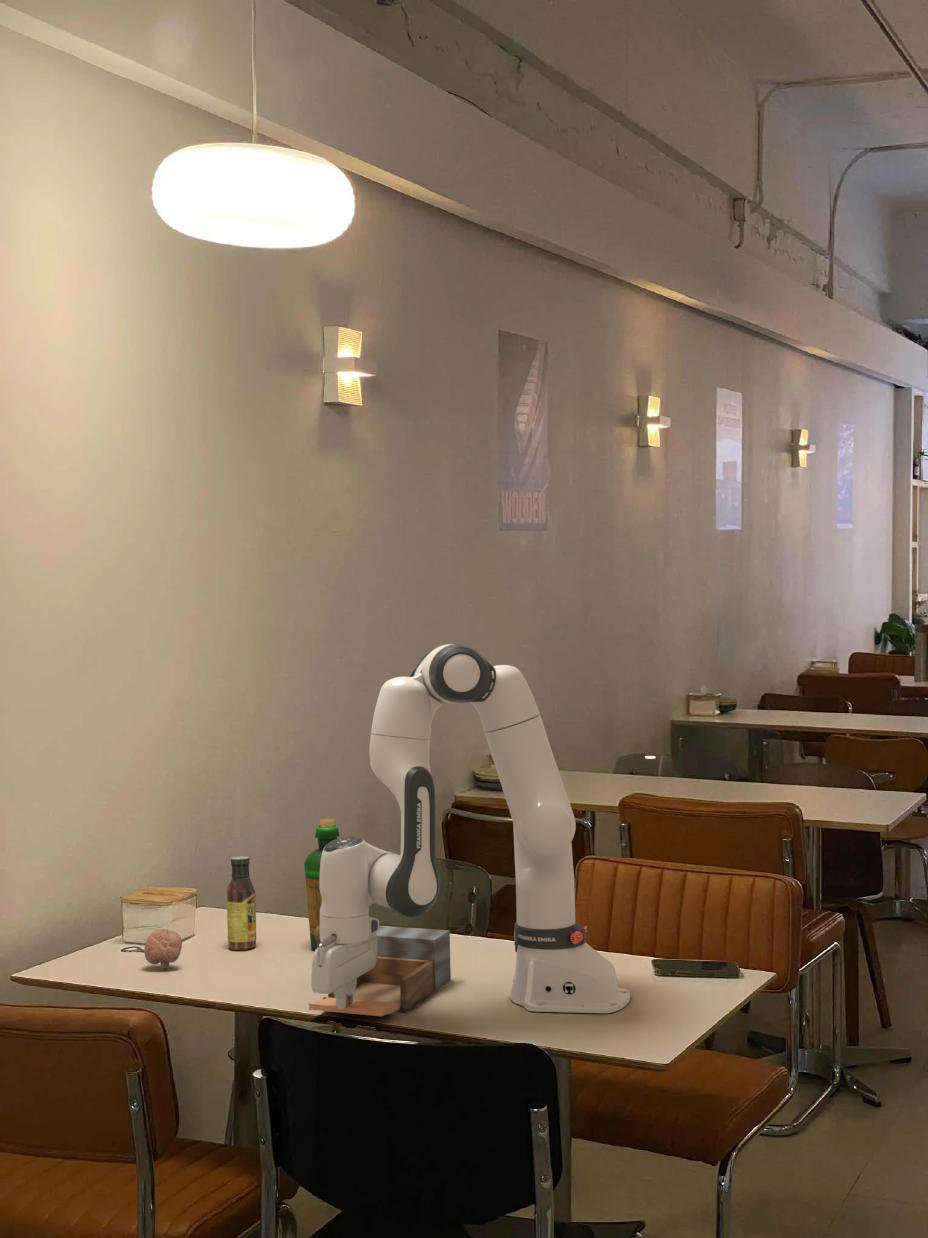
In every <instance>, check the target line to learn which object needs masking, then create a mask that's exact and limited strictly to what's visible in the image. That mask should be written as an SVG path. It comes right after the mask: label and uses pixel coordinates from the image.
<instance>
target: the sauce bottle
mask: <svg viewBox="0 0 928 1238" xmlns="http://www.w3.org/2000/svg"><path fill="white" fill-rule="evenodd" d="M230 864H231V880H230V882H229V883H228V886H227V888H226V889H227V890H226V894H227V897H226V915H227V917H226V919H227V921H226V922H227V941H228V944H227V945H228V948H229V949H230V950H232V951H246V950H250V949H254V948H255V947H256V945H257V908H256V907H257V906H256V905H257V904H256V901H257V900H256V891H255V888H254V886H253V882H252V881H251V880H252V879H251V877H250V876H251V875H250V864H251V863H250V857H249V856H246V855H245V856H244V855H242V856H241V855H240V856H233V857H231V858H230Z"/></svg>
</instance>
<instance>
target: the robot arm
mask: <svg viewBox="0 0 928 1238" xmlns="http://www.w3.org/2000/svg"><path fill="white" fill-rule="evenodd" d="M461 703H462V704H463V703H464V704H465V703H469V704H470V705H471V706H473V708H474V709H475V710H476V712H477V714H478V716H479V718H480V723H481V726H482V728H483V729H482V730H483V732H484V736H485V738H486V742H487V744H488V748H489V751H490V754H491V757H492V760H493V763H494V766H495V770H496V772H497V775H498V778H499V782H500V785H501V788H502V792H503V795H504V798H505V801H506V803H507V806H508V810H509V814H510V817H511V820H512V823H513V824H512V825H513V826H512V827H513V846H514V847H513V848H514V849H513V850H514V870H515V871H514V872H515V874H514V875H515V896H516V897H515V898H516V899H515V902H516V903H515V904H516V922H514V932H513V933H514V934H513V943H514V944H513V945H514V949H515V950H514V951H515V953H516V956H515V957H516V958H515V969H514V974H513V975H514V977H513V981H512V982H513V983H512V987H511V991H510V995H509V999H510V1000H511V1001H512V1002H513V1003H515V1004H517V1005H520V1006H522V1007H523V1008H525V1010H527V1011H529V1012H540V1013H541V1012H545V1013H573V1014H574V1013H578V1014H579V1013H580V1014H582V1013H583V1014H610V1013H615V1012H618V1011H620V1010H622V1009H623V1008H624V1007H626V1006H627V1005H628V1004H629V1002H630V1001H631V993H630V990H628V989H627V988H624V987H620V986H619V982H618V981H619V980H618V975H617V972H616V969H615V967H614V965H613V963H612V962H611V961H610V960H608V959H607V958H606V957H604V956H603V955H602V954H600V953H599V952H598V951H597V950H596V949H594V948H593V947H592V946H591V945H590V944H588V943H587V933H588V930H587V929H588V925H584V926H582V925H580V924H579V922H577V921H576V894H575V891H576V890H575V874H574V862H573V861H574V860H573V847H572V845H573V843H572V841H573V839H574V836H575V833H576V829H577V828H576V827H577V826H576V823H577V822H576V818H575V814H574V812H573V809H572V806H571V802H570V800H569V797H568V793H567V791H566V788H565V785H564V783H563V779H562V776H561V773H560V770H559V768H558V764H557V763H556V762H557V761H556V759H555V756H554V753H553V751H552V747H551V745H550V741H549V739H548V734H547V731H546V728H545V725H544V722H543V720H542V716H541V712H540V710H539V706H538V704H537V702H536V699H535V697H534V695H533V693H532V690H531V688H530V686H529V684H528V682H527V680H526V678H525V677H524V675H523V673H522V672H521V670H520V669H518V668H517V667H515V666H513V665H509V664H497V665H492V664H491V663H490V662H489V661H488V660H487V659H486V658H484V656H482V654H480V652H478V651H477V650H475V649H474V648H473V647H471V646H468V645H465V644H462V643H460V644H459V643H449V644H443V645H439V646H437V647H435V648H434V649H432V650H430V651H429V652H427V653H426V654H425V655H424V656H423V657H421V659H420V661H419V662H418V663H417V664H416V667H415V668H414V670H413V671H412V672H411V674H409V676H397V677H393V678H390V679H389V680H386V682H384V683H383V685H382V686H381V687H380V690H379V693H378V697H377V700H376V703H375V708H374V712H373V716H372V717H373V718H372V723H371V730H370V737H369V738H370V740H369V750H368V751H369V764H370V769H371V770H372V772H373V774H374V775H375V776H376V778H377V779H378V780H379V781H380V782H381V783H383V785H384V786H386V787H387V788H388V789H389V790H390V792H391V793H392V794H393V796H394V797H395V799H396V801H397V803H398V805H399V809H400V854H399V853H394V852H392V851H387V850H384V849H382V848H379V847H376V846H374V845H372V844H370V843H368V842H366V840H365V839H364V838H362V837H359V836H345V837H344V836H343V837H337V839H335V840H333V841H331V842H329V843H328V844H327V845H326V846H325V847H324V849H323V852H322V856H321V862H320V893H321V897H322V904H321V908H320V940H321V941H320V945H319V948H317V949H316V950H314V953H313V957H312V960H311V961H312V963H311V975H310V976H311V979H310V987H311V990H312V992H313V993H316V994H323V995H324V994H325V995H326V994H327V995H328V994H330V993H332V992H333V993H334V995H335V998H336V1007H337V1008H340V1009H344V1008H346V1007H347V1006H348V1005H350V1004H352V1003H353V1002H354V991H355V988H356V984H357V978H358V977H359V976H361V975H363V974H364V973H366V972H368V971H370V970H371V969H373V968H374V967H375V964H376V961H377V943H378V939H377V933H376V931H378V930H379V926H380V920H379V918H376V917H371V916H370V906H372V905H373V904H377V905H379V906H382V907H385V908H387V909H392V910H393V911H394V912H396V913H399V914H401V915H403V916H405V917H408V918H415V917H419V916H421V915H423V914H425V913H427V912H428V911H429V910H430V909H431V908H433V906H434V905H435V904H436V901H437V899H438V897H439V894H440V890H441V877H440V872H439V868H438V865H437V858H436V794H435V793H436V792H435V784H434V779H433V776H432V773H431V764H430V746H431V745H430V744H431V735H432V734H431V733H432V732H431V731H432V723H433V719H434V718H435V714H436V713H437V710H438V709H439V708H440V707H441V706H442V705H456V704H461Z"/></svg>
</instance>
